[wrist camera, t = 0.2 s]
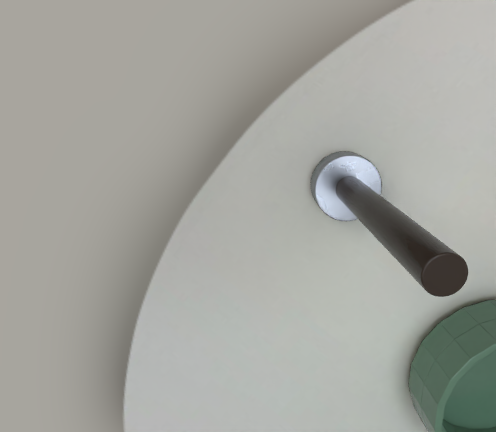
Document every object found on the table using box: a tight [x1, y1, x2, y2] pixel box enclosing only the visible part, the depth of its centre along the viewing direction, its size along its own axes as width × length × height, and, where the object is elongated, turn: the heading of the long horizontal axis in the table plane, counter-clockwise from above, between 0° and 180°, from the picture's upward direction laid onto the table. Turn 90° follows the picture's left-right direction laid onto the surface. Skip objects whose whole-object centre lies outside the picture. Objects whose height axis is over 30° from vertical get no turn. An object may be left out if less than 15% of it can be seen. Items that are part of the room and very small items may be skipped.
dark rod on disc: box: [311, 151, 468, 297], centre depth 28 cm, size 5×5×18 cm
